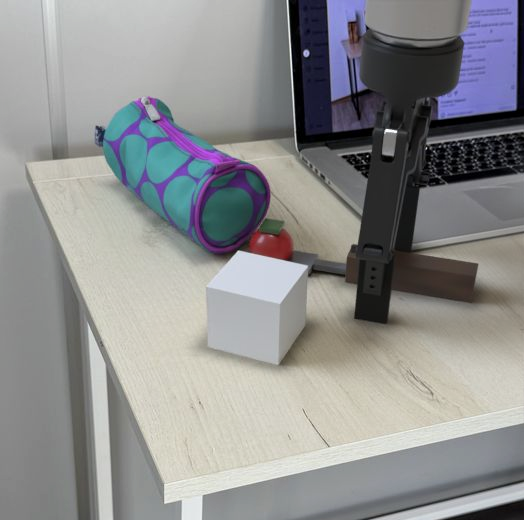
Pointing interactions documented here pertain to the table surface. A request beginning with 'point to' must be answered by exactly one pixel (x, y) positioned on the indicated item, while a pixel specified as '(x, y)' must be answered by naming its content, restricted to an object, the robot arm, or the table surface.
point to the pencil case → (184, 176)
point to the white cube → (256, 306)
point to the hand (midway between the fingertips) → (384, 283)
